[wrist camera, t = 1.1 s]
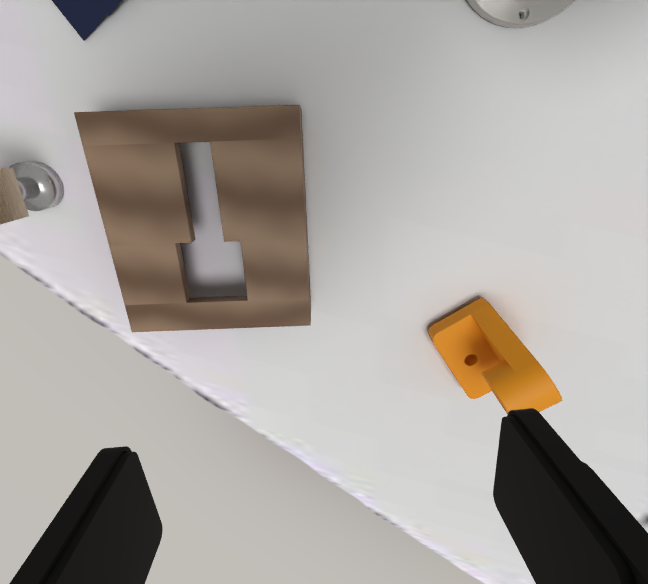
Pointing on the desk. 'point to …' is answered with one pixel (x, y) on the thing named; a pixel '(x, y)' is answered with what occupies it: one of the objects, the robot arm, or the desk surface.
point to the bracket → (492, 359)
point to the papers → (85, 13)
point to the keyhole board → (175, 216)
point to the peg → (28, 190)
